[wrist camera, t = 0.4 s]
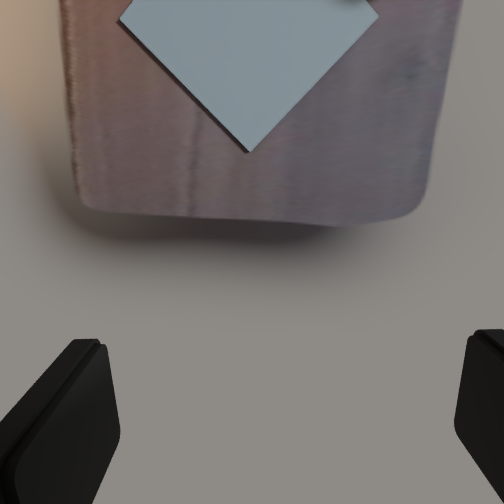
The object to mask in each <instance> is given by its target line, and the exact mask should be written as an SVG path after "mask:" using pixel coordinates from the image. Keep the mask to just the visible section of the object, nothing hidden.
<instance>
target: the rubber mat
mask: <svg viewBox="0 0 504 504" xmlns="http://www.w3.org/2000/svg"><path fill="white" fill-rule="evenodd" d="M378 17H379V16H378V15H377V14H376V12H375V11H374V10H373V9H372V7H371V6H370V5H369V4H368V2H367V1H366V0H133V2H132V3H131V4H130V5H129V7H128V8H127V9H126V11H125V12H124V13H123V15H122V16H121V17H120V18H119V19H120V20H121V21H122V22H123V23H124V24H125V25H126V26H127V27H128V28H129V29H130V30H131V32H132V33H133V34H134V35H135V36H136V37H137V38H138V39H139V40H140V41H141V42H142V43H143V44H144V45H145V46H146V47H147V48H148V49H149V50H150V51H151V52H152V53H153V54H154V55H155V56H156V57H157V58H158V59H159V60H160V61H161V62H162V63H163V64H164V65H165V66H166V67H167V68H168V69H169V70H170V71H171V72H172V73H173V74H174V75H175V76H176V77H177V78H178V79H179V80H180V81H181V82H182V83H183V84H184V85H185V86H186V87H187V89H188V90H189V91H190V92H191V93H192V94H193V95H194V96H195V97H196V98H197V99H198V100H199V101H200V102H201V103H202V104H203V105H204V106H205V107H206V108H207V109H208V110H209V111H210V112H211V113H212V114H213V115H214V116H215V117H216V118H217V119H218V120H219V121H220V122H221V123H222V124H223V125H224V126H225V127H226V128H227V129H228V130H229V131H230V132H231V133H232V134H233V135H234V136H235V137H236V138H237V139H238V140H239V141H240V142H241V143H242V145H243V146H244V147H245V148H246V149H247V150H248V151H249V152H251V151H252V150H253V149H254V148H255V146H256V145H257V144H258V143H259V142H260V141H261V140H262V139H263V138H264V137H265V136H266V135H267V134H268V133H269V132H270V131H271V130H272V129H273V128H274V126H275V125H276V124H277V123H278V122H279V121H280V120H281V119H282V118H283V117H284V116H285V115H286V114H287V113H288V112H289V111H290V110H291V109H292V108H293V107H294V105H295V104H296V103H297V102H298V101H299V100H300V99H301V98H302V97H303V96H304V95H305V94H306V93H307V92H308V91H309V90H310V89H311V88H312V87H313V85H314V84H315V83H316V82H317V81H318V80H319V79H320V78H321V77H322V76H323V75H324V74H325V73H326V72H327V71H328V70H329V69H330V68H331V67H332V65H333V64H334V63H335V62H336V61H337V60H338V59H339V58H340V57H341V56H342V55H343V54H344V53H345V52H346V51H347V50H348V49H349V48H350V47H351V45H352V44H353V43H354V42H355V41H356V40H357V39H358V38H359V37H360V36H361V35H362V34H363V33H364V32H365V31H366V30H367V29H368V28H369V27H370V25H371V24H372V23H373V22H374V21H375V20H376V19H377V18H378Z"/></svg>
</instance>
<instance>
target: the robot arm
mask: <svg viewBox="0 0 504 504" xmlns="http://www.w3.org/2000/svg"><path fill="white" fill-rule="evenodd" d="M454 427H455V431H456V434H457V436H458V437H459V439H460V440H461V442H462V443H463V445H464V446H465V448H466V449H467V451H468V452H469V453H470V455H471V456H472V458H473V459H474V461H475V462H476V464H477V465H478V467H479V468H480V470H481V471H482V472H483V474H484V475H485V477H486V478H487V480H488V481H489V483H490V484H491V486H492V487H493V488H494V490H495V491H496V493H497V494H498V496H499V497H500V499H501V500H502V502H503V503H504V330H503V329H487V330H486V329H485V330H477V331H475V333H474V335H472V336H470V337H469V338H468V340H467V345H466V351H465V357H464V364H463V370H462V375H461V382H460V388H459V394H458V400H457V406H456V412H455V418H454ZM119 439H120V424H119V418H118V412H117V405H116V399H115V393H114V387H113V381H112V376H111V369H110V363H109V357H108V350H107V347H106V345H105V344H100V341H99V340H98V339H74V340H73V341H71V343H70V344H69V345H68V346H67V347H66V348H65V349H64V350H63V352H62V353H61V354H60V355H59V356H58V357H57V358H56V360H55V361H54V362H53V363H52V364H51V365H50V366H49V368H48V369H47V370H46V371H45V372H44V373H43V374H42V375H41V376H40V378H39V379H38V380H37V381H36V382H35V383H34V385H33V386H32V387H31V388H30V389H29V390H28V391H27V392H26V394H25V395H24V396H23V397H22V398H21V399H20V400H19V401H18V402H17V404H16V405H15V406H14V407H13V408H12V409H11V410H10V412H9V413H8V414H7V415H6V416H5V417H4V418H3V420H2V421H1V422H0V504H92V503H93V500H94V498H95V496H96V493H97V491H98V489H99V487H100V484H101V482H102V480H103V478H104V475H105V473H106V471H107V468H108V466H109V464H110V462H111V459H112V457H113V454H114V452H115V450H116V448H117V445H118V443H119Z"/></svg>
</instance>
